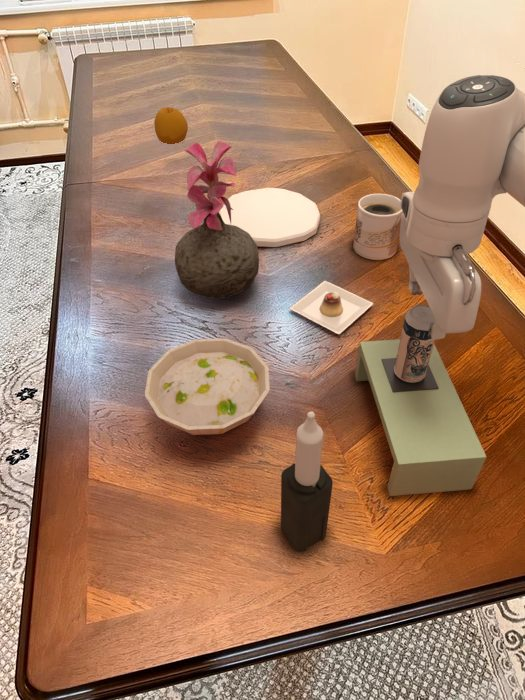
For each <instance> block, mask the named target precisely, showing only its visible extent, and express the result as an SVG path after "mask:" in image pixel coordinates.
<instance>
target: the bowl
mask: <svg viewBox="0 0 525 700" xmlns="http://www.w3.org/2000/svg"><path fill="white" fill-rule="evenodd" d="M270 391H271V386H270V370H269V364H267V363H266V362H265V360H264V359H262V358H261V356H260V355H259V354H258V352H256V350H254V348H253V347H251V346H248V345H245V344H243V343H240V342H237V341H235V340H231V339H228V338H225V337H224V338H220V337H219V338H197V339H196V338H195V339H193V340H191V341H187V342H185V343H183V344H180V345H178V346H176V347H173V348H170V349H168V350H166V352H165V353H164V354H163V355H162V356H161V357H160V358H159V359H158V360H157V361H156V362H155V363H154V364H153V365H152V366H151V368H149V370H148V371H147V377H146V384H145V390H144V397H145V398H146V400H147V401H148V403H149V404H150V407H151V409H153V411H154V413H155V414H156V416H157V418H159V419H160V420H162V421H164V422H165V423H166V424H167V425H170V426H172V427H174V428H177V429H179V430H181V431H183V432H186V433H188V434H189V435H192V436H197V435H198V436H200V435H207V436H208V435H222V434H224V433H227V432H228V431H230V430H232V429H234V428H237V427H238V426H240V425H242V424H244V423H247V422H248V421H249V420H250V419H251V417H253V415H254V414H255V412H256V411H257V410H258V408H259V407H260V405H261V403H262V402H263V401H264V399H265V398H266V396H267V395H268V393H269V392H270Z"/></svg>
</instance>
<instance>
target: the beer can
mask: <svg viewBox="0 0 525 700" xmlns="http://www.w3.org/2000/svg"><path fill="white" fill-rule="evenodd" d="M432 322H436V320H435V317H434V315H433V313H432V311H431V309H430V307H429V305H428V304H427V305H425V304H417V305H414V306H412V307H411V308H410V309H409V310H408V311H406V314H405V315H404V319H403V325H402V329H401V334H400V338H399V339H400V343H399V348H398V352H397V357H396V361H395V366H394V372H395V374H396V375H397V377H399V378H400V379H402V380H403V381H406V382H419V381H421V380H422V379H424V377H425V375H426V371H427V367H428V364H429V360H430V356H431V353H432V349H433V345H434V344H435V341H436V339H435V340H434V339H432V337H431V335H430V333H429V328H430V323H432Z"/></svg>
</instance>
